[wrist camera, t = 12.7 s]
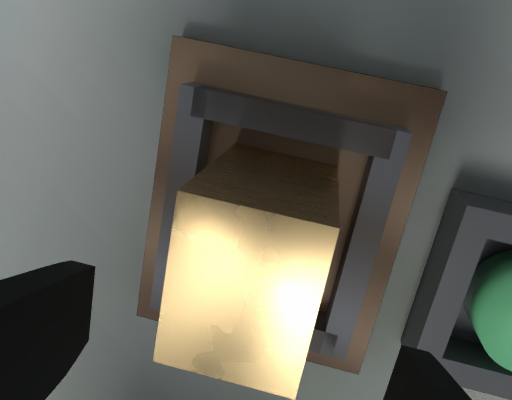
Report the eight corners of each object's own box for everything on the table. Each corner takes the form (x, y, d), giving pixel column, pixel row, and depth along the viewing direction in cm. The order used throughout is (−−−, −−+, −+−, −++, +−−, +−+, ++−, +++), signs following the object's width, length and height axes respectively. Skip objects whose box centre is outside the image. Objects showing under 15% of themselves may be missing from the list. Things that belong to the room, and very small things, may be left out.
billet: (308, 282, 19) (295, 399, 13) (214, 259, 20) (152, 361, 13) (338, 165, 18) (340, 228, 11) (235, 143, 18) (177, 190, 11)
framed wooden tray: (357, 360, 21) (360, 398, 19) (145, 304, 22) (122, 333, 20) (441, 90, 17) (458, 94, 15) (181, 36, 18) (158, 33, 16)
